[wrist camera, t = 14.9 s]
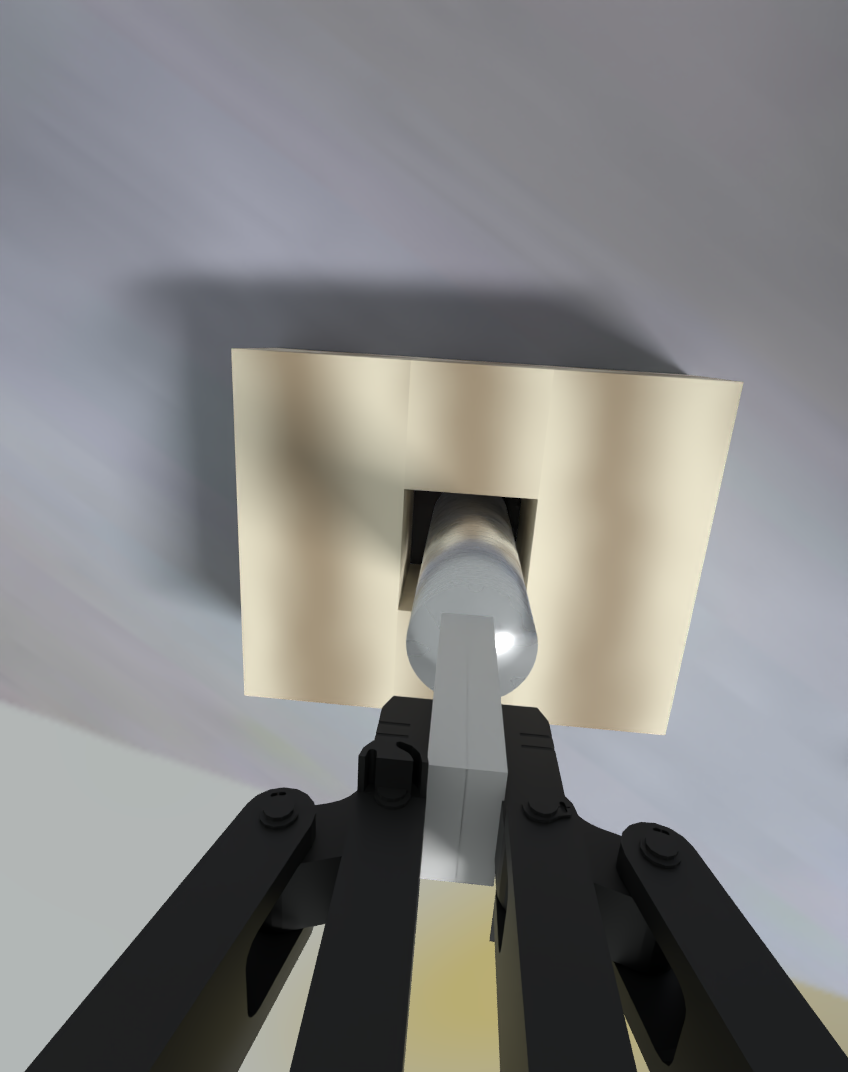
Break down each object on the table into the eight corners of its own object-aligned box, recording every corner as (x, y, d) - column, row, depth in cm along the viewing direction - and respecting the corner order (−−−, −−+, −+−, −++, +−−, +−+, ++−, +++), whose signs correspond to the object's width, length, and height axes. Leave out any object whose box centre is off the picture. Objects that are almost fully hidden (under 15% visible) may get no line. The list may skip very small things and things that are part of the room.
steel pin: (512, 484, 31) (545, 590, 17) (504, 557, 32) (529, 708, 18) (434, 478, 31) (409, 579, 17) (430, 551, 32) (402, 696, 19)
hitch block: (687, 374, 28) (743, 382, 23) (631, 668, 33) (665, 735, 28) (277, 347, 29) (231, 348, 24) (281, 637, 34) (244, 695, 29)
